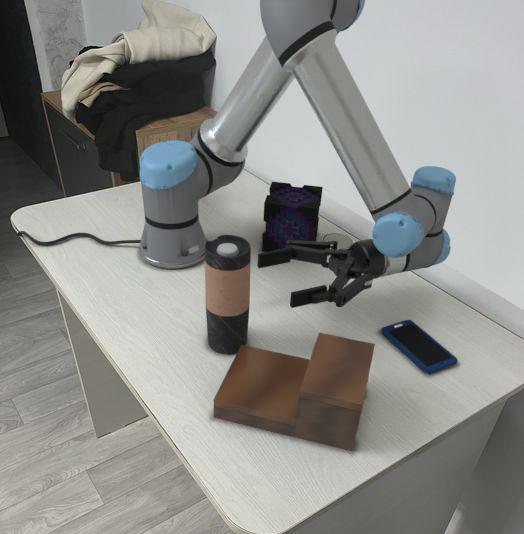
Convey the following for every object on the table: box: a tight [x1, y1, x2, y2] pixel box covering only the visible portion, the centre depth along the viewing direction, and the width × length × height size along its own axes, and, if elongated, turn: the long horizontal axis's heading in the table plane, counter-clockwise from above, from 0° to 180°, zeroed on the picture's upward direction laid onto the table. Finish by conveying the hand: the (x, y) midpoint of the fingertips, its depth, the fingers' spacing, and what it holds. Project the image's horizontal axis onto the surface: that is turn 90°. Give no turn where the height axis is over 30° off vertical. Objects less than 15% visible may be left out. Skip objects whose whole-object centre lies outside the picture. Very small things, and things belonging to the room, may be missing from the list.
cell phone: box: [380, 319, 458, 374], centre depth 100 cm, size 7×14×1 cm, turn 28°
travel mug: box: [204, 234, 252, 355], centre depth 93 cm, size 8×8×20 cm
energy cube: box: [261, 181, 324, 255], centre depth 126 cm, size 12×12×12 cm
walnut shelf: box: [213, 332, 376, 452], centre depth 85 cm, size 22×14×10 cm, turn 74°
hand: (273, 279), depth 95 cm, fingers open, 13 cm apart
